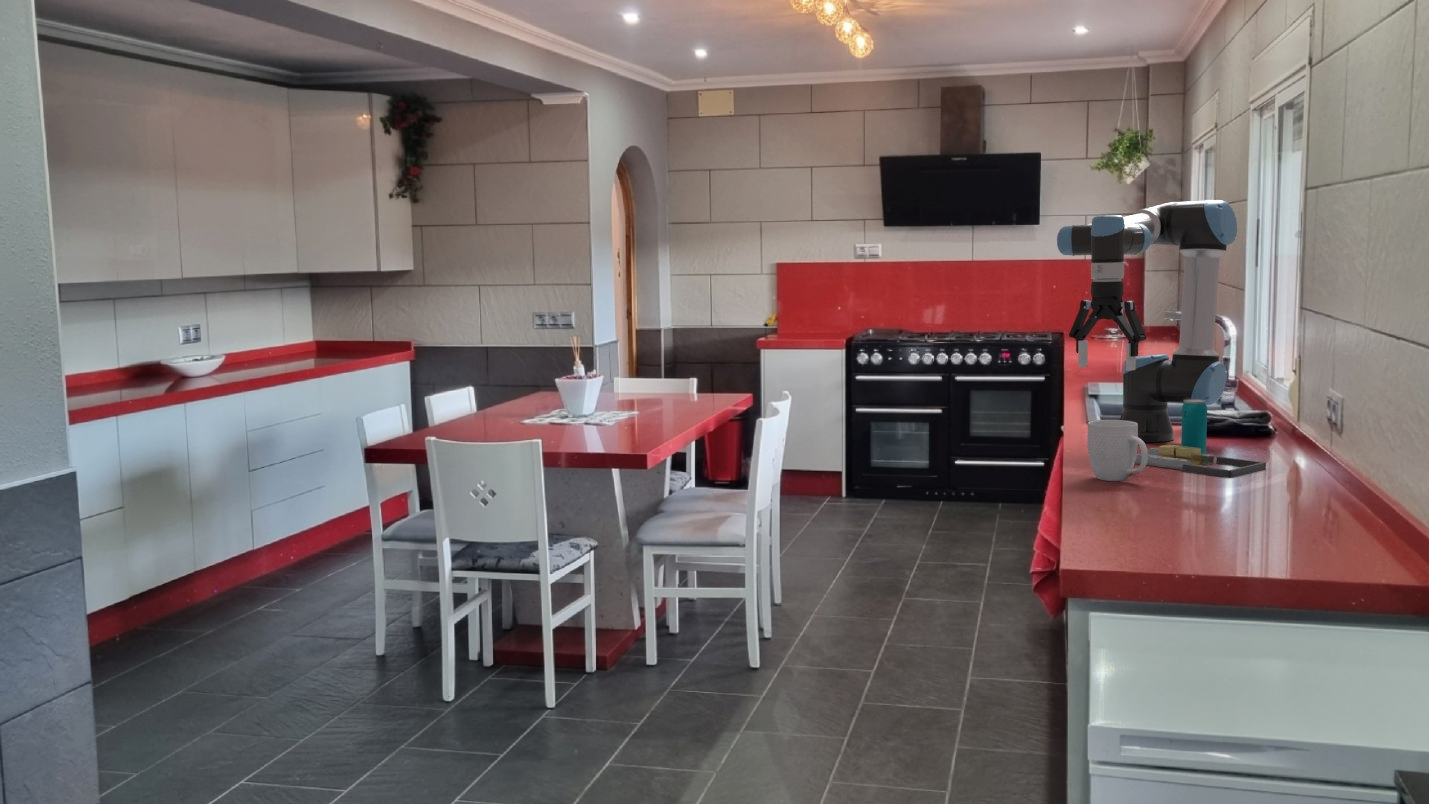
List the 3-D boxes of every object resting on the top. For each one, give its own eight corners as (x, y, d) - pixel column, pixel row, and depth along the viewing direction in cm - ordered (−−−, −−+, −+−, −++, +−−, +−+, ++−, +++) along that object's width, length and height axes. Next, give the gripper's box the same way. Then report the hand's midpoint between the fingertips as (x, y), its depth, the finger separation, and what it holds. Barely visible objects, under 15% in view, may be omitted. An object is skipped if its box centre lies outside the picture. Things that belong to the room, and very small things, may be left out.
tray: (1217, 468, 292) (1217, 456, 292) (1265, 475, 283) (1265, 462, 283) (1182, 477, 283) (1182, 464, 283) (1230, 484, 274) (1230, 470, 274)
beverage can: (1201, 458, 307) (1203, 398, 305) (1208, 462, 301) (1210, 401, 299) (1178, 458, 307) (1179, 399, 306) (1184, 462, 302) (1185, 402, 300)
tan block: (1167, 460, 296) (1168, 444, 296) (1182, 462, 293) (1183, 446, 293) (1158, 462, 294) (1158, 446, 293) (1173, 464, 291) (1173, 448, 290)
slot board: (1153, 461, 304) (1153, 447, 304) (1213, 469, 292) (1213, 455, 291) (1124, 467, 297) (1125, 453, 296) (1185, 476, 284) (1185, 461, 284)
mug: (1161, 481, 279) (1162, 424, 277) (1130, 487, 273) (1131, 429, 271) (1107, 472, 291) (1108, 418, 290) (1076, 478, 285) (1077, 422, 284)
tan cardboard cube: (1184, 463, 293) (1185, 446, 292) (1200, 465, 290) (1200, 448, 289) (1175, 465, 290) (1175, 448, 290) (1190, 467, 287) (1191, 450, 287)
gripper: (1054, 280, 302) (1054, 366, 305) (1143, 281, 282) (1141, 373, 285) (1074, 279, 306) (1073, 364, 309) (1162, 280, 286) (1161, 370, 289)
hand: (1106, 368), depth 297 cm, fingers open, 13 cm apart
